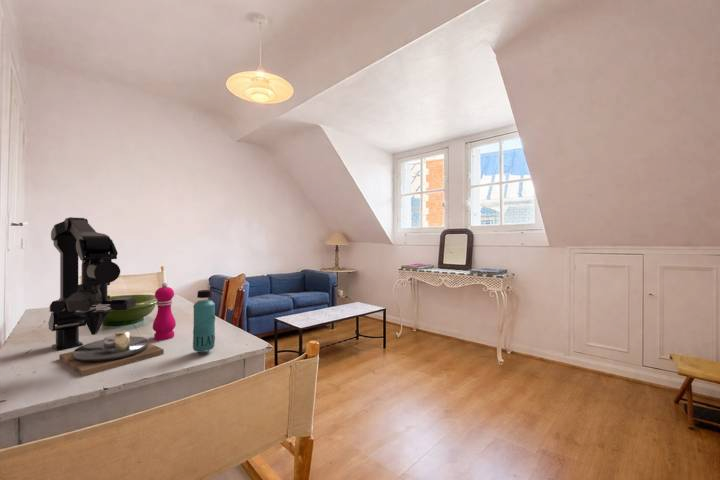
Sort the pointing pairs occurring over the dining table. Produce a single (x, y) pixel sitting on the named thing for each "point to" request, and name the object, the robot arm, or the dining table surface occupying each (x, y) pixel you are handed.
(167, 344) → the dining table surface
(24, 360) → the dining table surface
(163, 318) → the pepper mill
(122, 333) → the handwheel
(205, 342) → the beverage bottle
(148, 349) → the wheel mount
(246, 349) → the dining table surface
